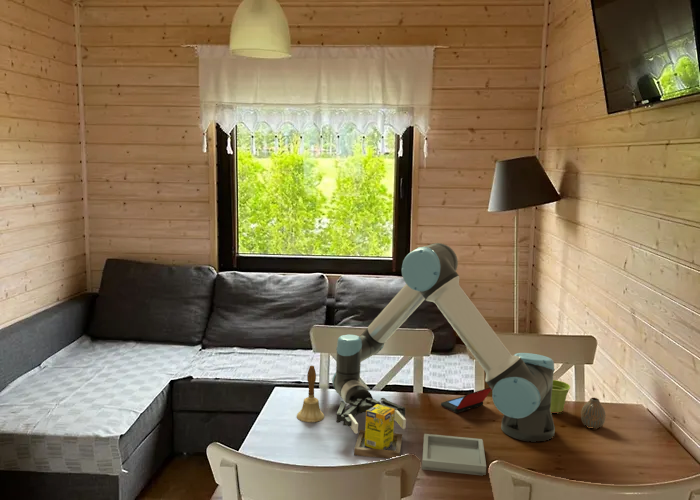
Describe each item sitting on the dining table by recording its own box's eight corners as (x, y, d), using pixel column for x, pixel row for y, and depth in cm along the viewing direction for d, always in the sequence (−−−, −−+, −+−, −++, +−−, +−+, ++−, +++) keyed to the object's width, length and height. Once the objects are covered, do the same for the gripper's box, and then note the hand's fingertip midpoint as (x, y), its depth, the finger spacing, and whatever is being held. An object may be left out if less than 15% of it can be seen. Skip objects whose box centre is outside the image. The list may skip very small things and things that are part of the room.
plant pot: (535, 413, 209) (537, 386, 208) (539, 402, 218) (541, 377, 217) (566, 418, 206) (569, 392, 204) (569, 408, 214) (571, 382, 213)
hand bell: (325, 422, 196) (327, 370, 194) (297, 422, 195) (299, 370, 193) (322, 411, 204) (324, 361, 202) (295, 411, 203) (297, 361, 201)
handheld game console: (466, 398, 220) (467, 376, 219) (491, 409, 211) (493, 387, 210) (439, 406, 212) (440, 383, 211) (463, 418, 204) (465, 394, 203)
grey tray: (481, 447, 184) (482, 439, 183) (485, 475, 168) (486, 466, 167) (423, 442, 186) (424, 433, 185) (421, 469, 170) (422, 460, 170)
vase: (606, 432, 197) (609, 404, 195) (581, 429, 198) (584, 401, 197) (602, 423, 203) (605, 396, 202) (578, 420, 205) (581, 393, 203)
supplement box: (382, 454, 177) (384, 415, 175) (363, 448, 180) (365, 410, 179) (393, 446, 182) (395, 408, 180) (374, 440, 185) (376, 403, 184)
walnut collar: (402, 440, 186) (402, 433, 186) (399, 459, 175) (399, 453, 174) (359, 435, 188) (359, 429, 188) (354, 455, 176) (354, 448, 176)
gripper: (395, 405, 203) (422, 435, 183) (315, 412, 196) (335, 444, 176) (396, 382, 202) (424, 409, 182) (316, 388, 194) (336, 417, 174)
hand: (380, 426), depth 179 cm, fingers open, 13 cm apart
